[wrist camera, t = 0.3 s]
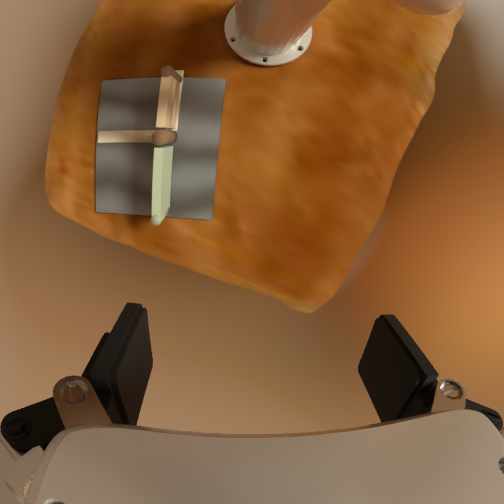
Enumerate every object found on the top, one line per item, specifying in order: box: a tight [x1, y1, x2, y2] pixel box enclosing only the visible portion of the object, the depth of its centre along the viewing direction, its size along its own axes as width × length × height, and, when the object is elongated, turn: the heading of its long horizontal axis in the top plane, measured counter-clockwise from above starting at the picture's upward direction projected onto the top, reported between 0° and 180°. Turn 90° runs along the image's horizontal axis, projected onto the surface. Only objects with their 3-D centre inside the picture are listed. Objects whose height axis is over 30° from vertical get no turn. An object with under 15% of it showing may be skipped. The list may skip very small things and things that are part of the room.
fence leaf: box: [151, 146, 173, 225], centre depth 38 cm, size 10×1×6 cm, turn 173°
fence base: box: [95, 65, 226, 220], centre depth 36 cm, size 22×19×7 cm
